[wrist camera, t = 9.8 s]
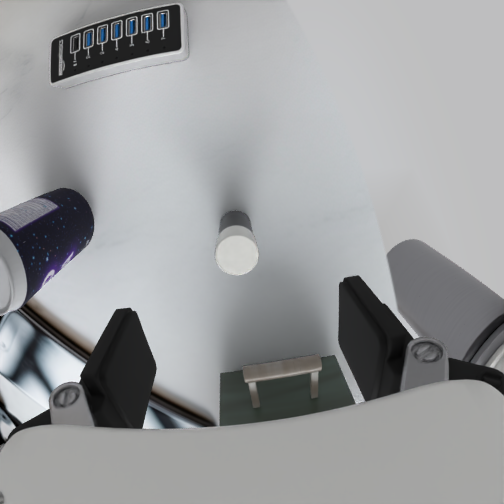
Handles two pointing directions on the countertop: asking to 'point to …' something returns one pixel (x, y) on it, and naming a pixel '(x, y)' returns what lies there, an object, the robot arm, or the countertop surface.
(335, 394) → the drawer
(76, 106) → the countertop surface
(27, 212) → the beverage can
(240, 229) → the white and black cylinder
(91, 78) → the multiport hub
